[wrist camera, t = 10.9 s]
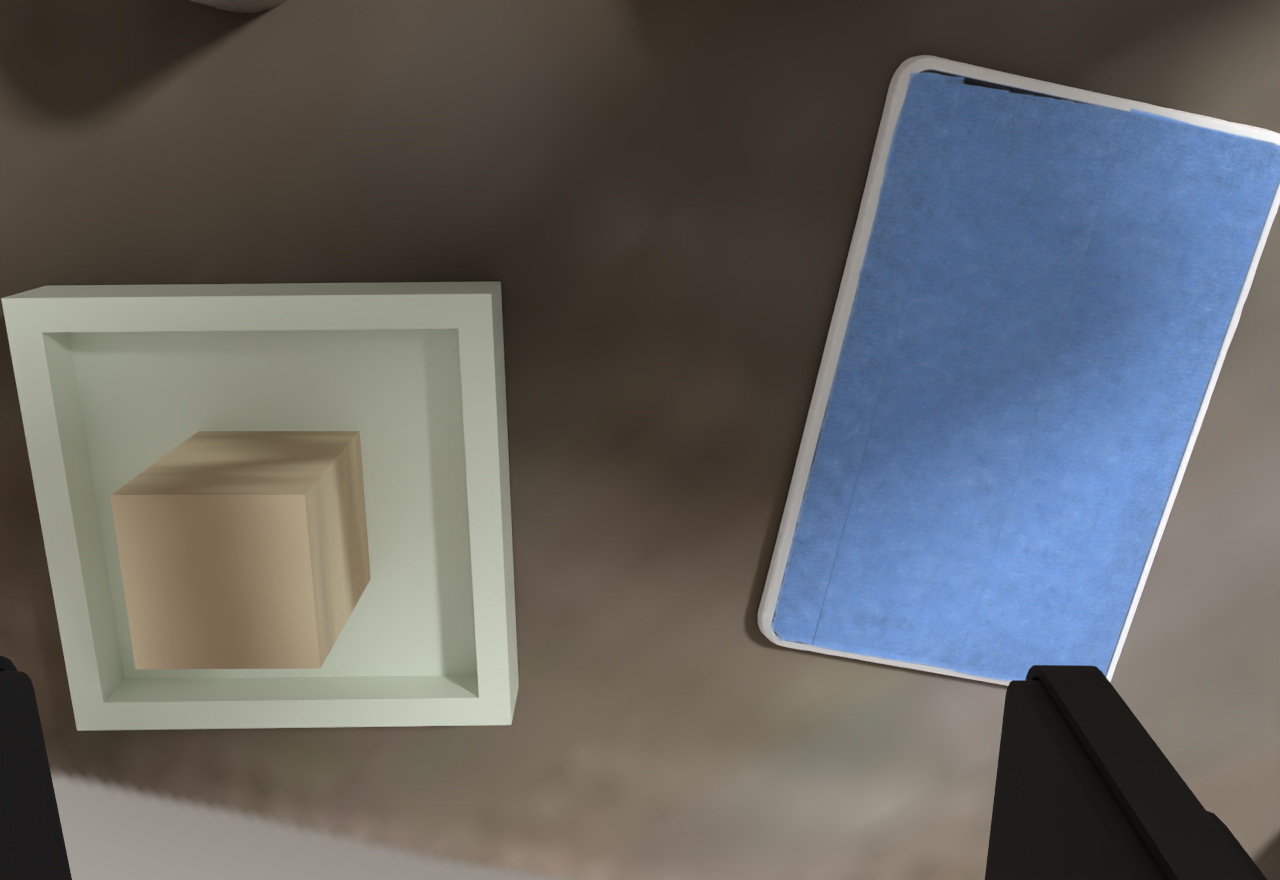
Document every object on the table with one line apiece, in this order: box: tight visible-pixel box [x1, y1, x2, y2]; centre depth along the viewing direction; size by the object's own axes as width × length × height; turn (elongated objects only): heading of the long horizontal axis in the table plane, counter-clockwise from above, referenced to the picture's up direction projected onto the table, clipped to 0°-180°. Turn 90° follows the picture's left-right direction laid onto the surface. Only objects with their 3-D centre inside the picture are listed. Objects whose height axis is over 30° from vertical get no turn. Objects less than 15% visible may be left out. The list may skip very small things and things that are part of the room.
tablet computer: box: [758, 55, 1280, 686], centre depth 35 cm, size 19×13×1 cm, turn 169°
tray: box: [1, 281, 519, 731], centre depth 34 cm, size 14×14×2 cm
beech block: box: [110, 431, 371, 669], centre depth 31 cm, size 5×5×6 cm
